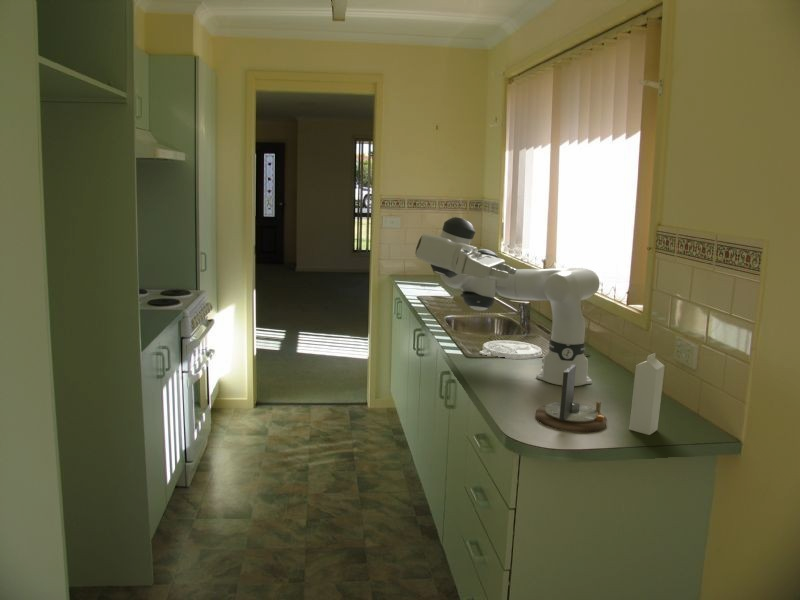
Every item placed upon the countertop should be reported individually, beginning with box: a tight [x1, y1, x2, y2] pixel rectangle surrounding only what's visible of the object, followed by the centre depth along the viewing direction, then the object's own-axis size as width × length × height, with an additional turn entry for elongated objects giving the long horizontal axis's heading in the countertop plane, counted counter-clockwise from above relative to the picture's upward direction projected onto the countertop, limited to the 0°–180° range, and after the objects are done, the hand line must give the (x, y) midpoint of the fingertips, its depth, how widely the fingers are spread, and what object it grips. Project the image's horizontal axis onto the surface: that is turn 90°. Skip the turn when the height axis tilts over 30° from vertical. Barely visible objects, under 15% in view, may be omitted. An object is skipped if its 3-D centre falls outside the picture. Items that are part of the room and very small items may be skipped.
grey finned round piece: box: [544, 365, 605, 423], centre depth 206 cm, size 18×17×15 cm
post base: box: [535, 401, 607, 433], centre depth 209 cm, size 20×20×5 cm
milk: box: [628, 352, 666, 436], centre depth 202 cm, size 6×6×22 cm
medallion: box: [479, 339, 543, 360], centre depth 287 cm, size 24×27×2 cm
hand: (511, 274), depth 208 cm, fingers open, 8 cm apart
